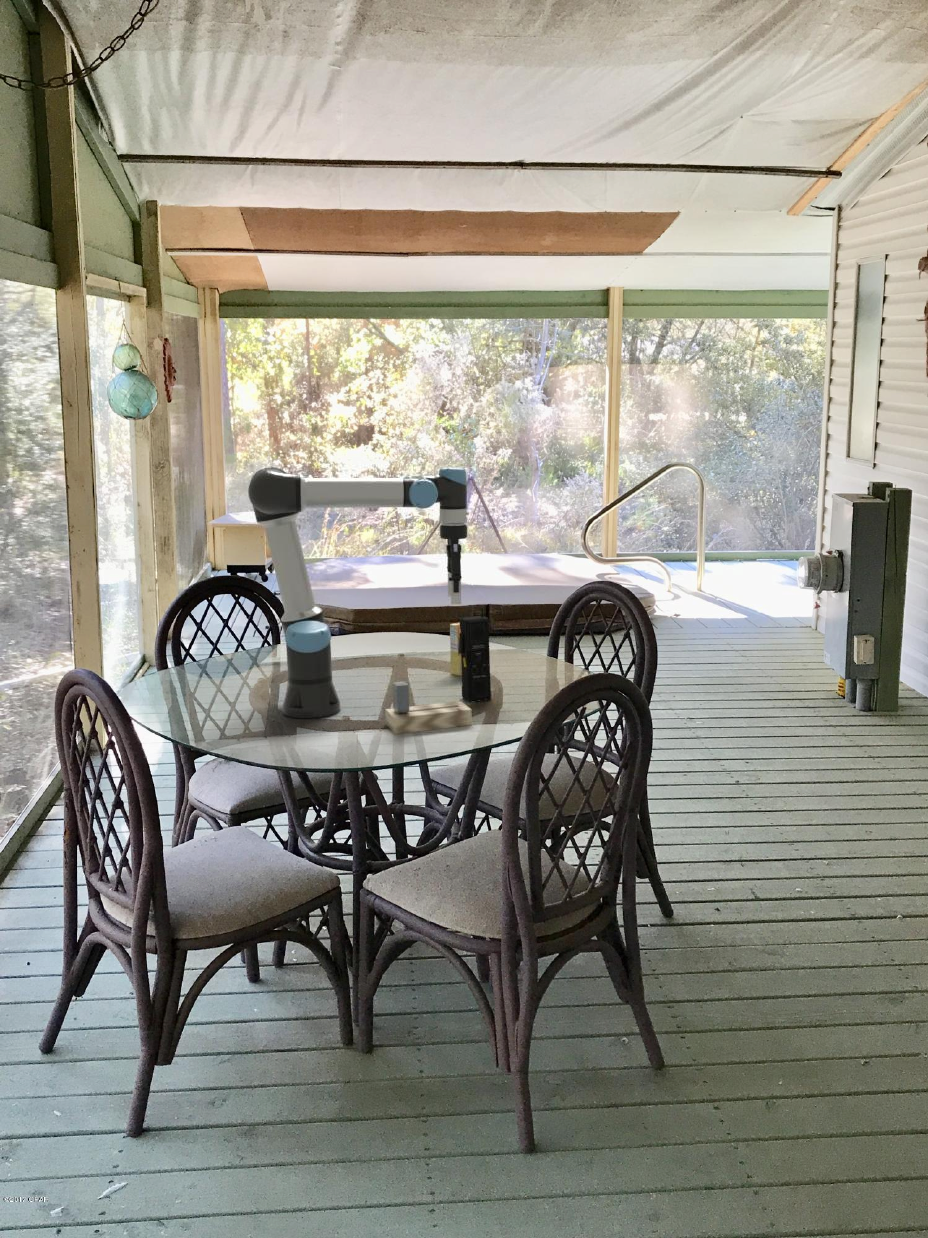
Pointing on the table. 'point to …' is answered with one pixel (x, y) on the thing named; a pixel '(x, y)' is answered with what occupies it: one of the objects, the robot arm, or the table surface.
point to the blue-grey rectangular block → (401, 697)
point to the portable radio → (475, 658)
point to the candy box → (455, 649)
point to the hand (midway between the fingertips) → (454, 600)
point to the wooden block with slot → (429, 717)
